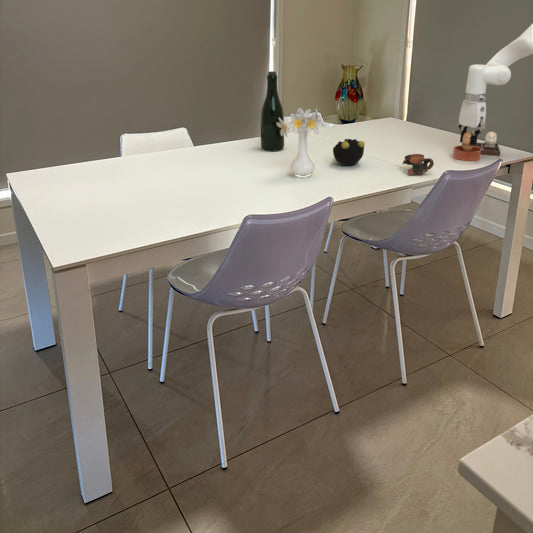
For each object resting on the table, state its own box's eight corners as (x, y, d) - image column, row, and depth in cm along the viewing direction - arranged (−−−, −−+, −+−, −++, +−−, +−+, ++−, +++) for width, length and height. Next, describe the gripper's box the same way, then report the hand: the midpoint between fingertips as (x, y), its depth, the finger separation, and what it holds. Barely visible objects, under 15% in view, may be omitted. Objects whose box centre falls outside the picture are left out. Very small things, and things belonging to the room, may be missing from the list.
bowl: (479, 156, 247) (481, 146, 245) (480, 163, 237) (482, 152, 235) (452, 155, 249) (453, 144, 248) (452, 162, 240) (453, 151, 238)
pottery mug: (400, 176, 224) (399, 154, 225) (407, 181, 233) (406, 160, 233) (431, 171, 218) (430, 150, 219) (438, 177, 227) (437, 156, 227)
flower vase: (271, 177, 223) (271, 110, 212) (308, 168, 233) (310, 104, 222) (293, 185, 214) (294, 115, 203) (331, 175, 224) (333, 109, 213)
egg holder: (497, 149, 258) (498, 143, 257) (499, 157, 246) (500, 151, 245) (464, 147, 261) (465, 141, 260) (464, 155, 249) (465, 149, 248)
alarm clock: (360, 169, 244) (376, 139, 235) (344, 179, 233) (360, 148, 224) (337, 154, 247) (352, 123, 238) (320, 163, 236) (336, 131, 227)
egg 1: (472, 149, 243) (475, 130, 240) (472, 152, 239) (475, 133, 236) (461, 148, 244) (463, 130, 241) (461, 151, 240) (463, 132, 237)
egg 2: (494, 148, 257) (497, 130, 253) (495, 151, 253) (498, 133, 249) (483, 148, 258) (486, 130, 254) (483, 150, 254) (486, 132, 250)
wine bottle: (259, 151, 258) (258, 73, 243) (261, 146, 267) (260, 70, 253) (283, 152, 257) (284, 73, 243) (284, 146, 266) (284, 69, 252)
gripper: (498, 100, 228) (490, 146, 235) (465, 93, 241) (459, 138, 249) (484, 101, 224) (477, 149, 232) (451, 95, 238) (446, 140, 246)
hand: (468, 142), depth 240 cm, fingers closed on egg 1, 4 cm apart
